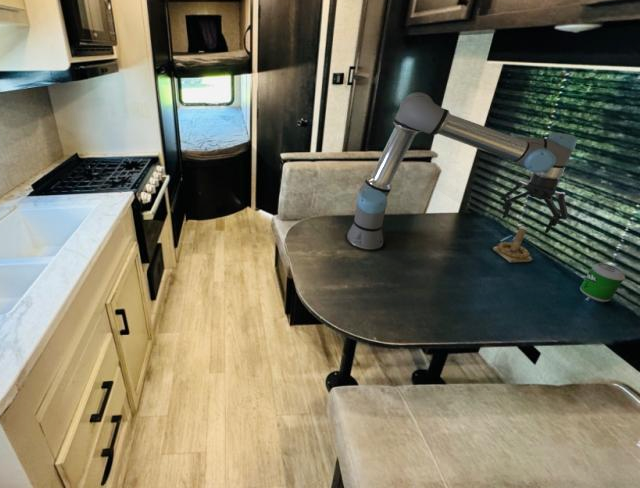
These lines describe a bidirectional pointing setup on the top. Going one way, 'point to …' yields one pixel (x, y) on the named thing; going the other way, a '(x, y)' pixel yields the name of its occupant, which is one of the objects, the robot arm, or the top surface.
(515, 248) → the rack
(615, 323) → the top surface
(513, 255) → the ring
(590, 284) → the soda can
